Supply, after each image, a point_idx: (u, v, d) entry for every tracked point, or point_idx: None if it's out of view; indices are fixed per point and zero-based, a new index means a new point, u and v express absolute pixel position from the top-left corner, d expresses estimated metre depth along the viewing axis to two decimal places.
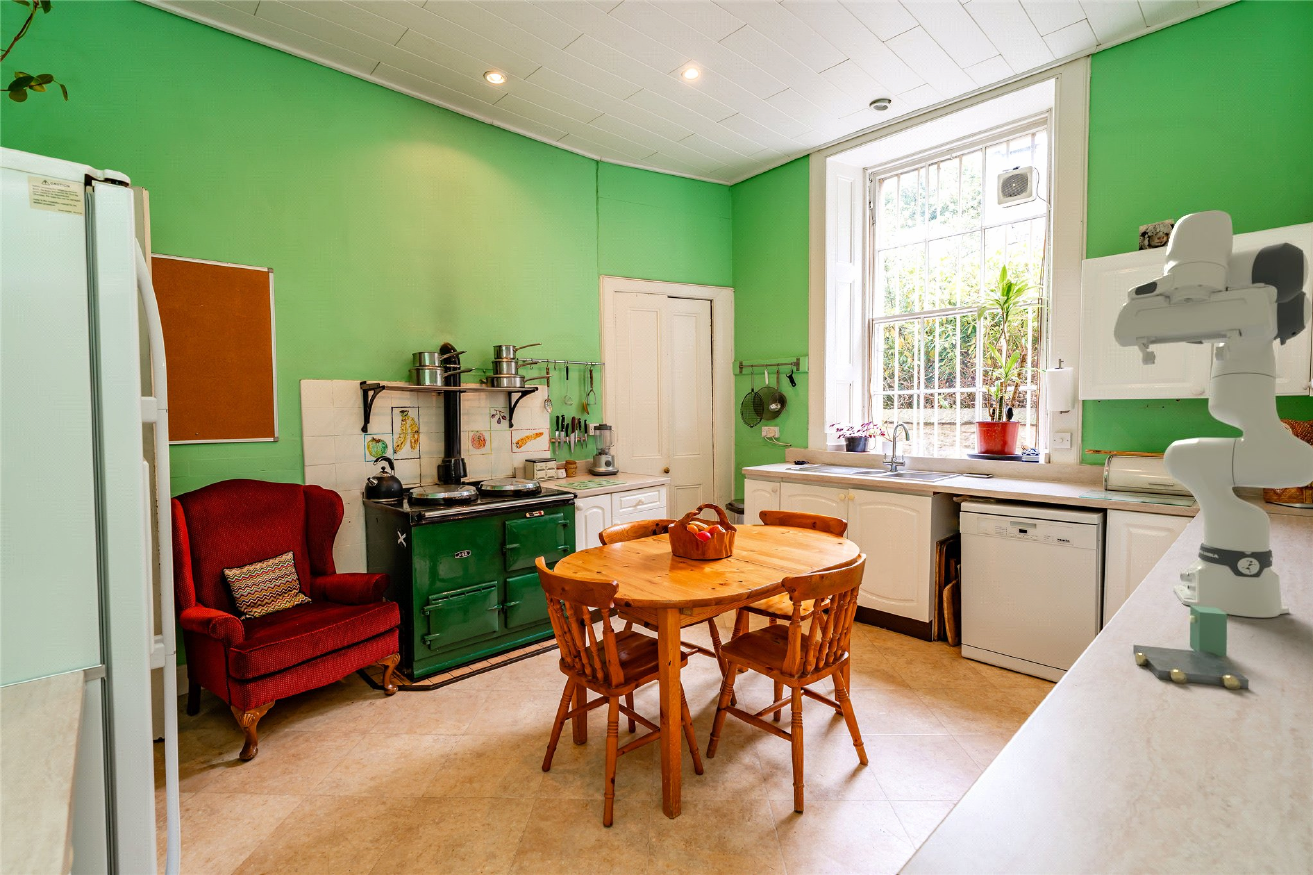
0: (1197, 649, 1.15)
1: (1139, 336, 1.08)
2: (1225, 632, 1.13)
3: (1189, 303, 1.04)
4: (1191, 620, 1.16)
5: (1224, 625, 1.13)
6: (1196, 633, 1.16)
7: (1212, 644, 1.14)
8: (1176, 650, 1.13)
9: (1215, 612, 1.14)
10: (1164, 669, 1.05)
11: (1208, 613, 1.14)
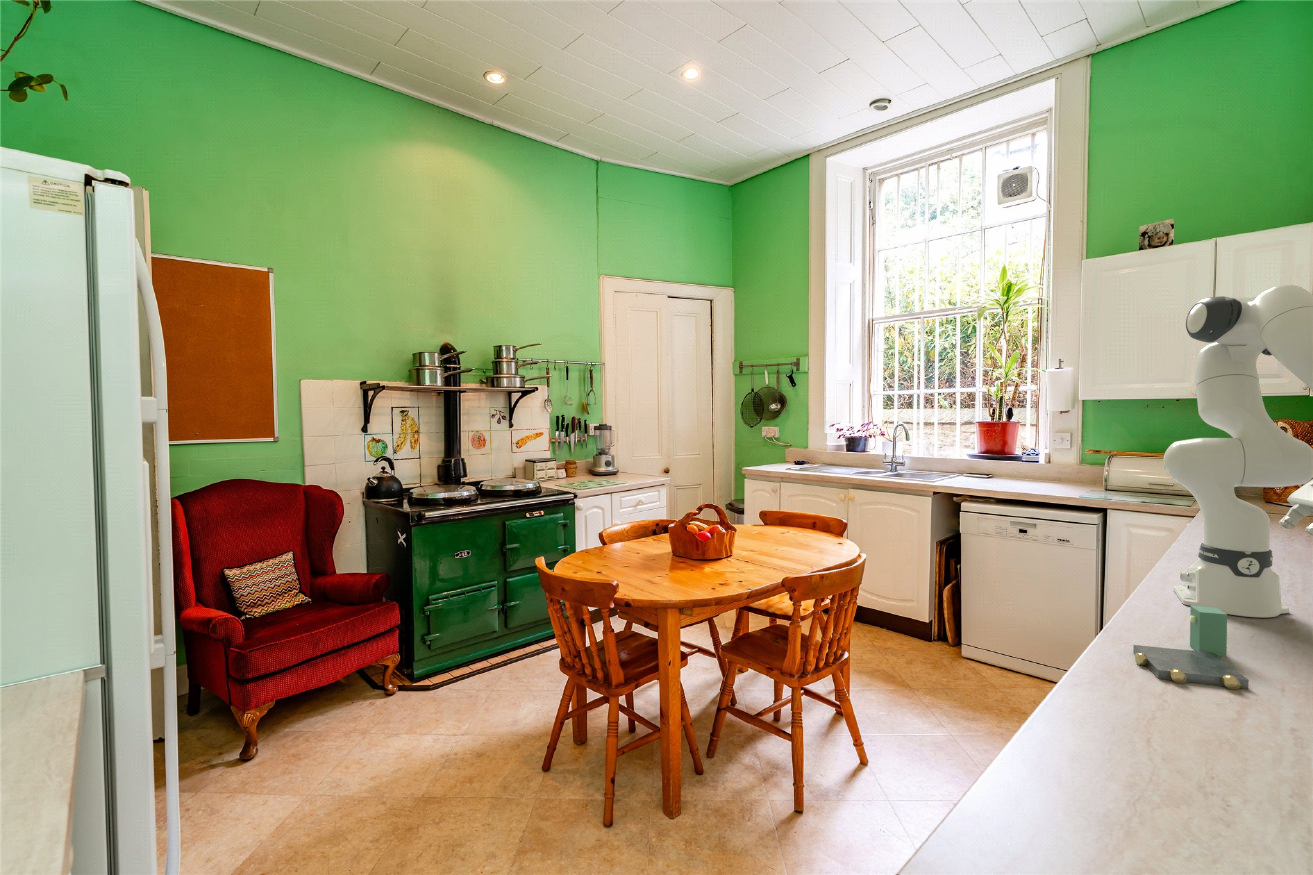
0: (1197, 649, 1.15)
1: None
2: (1225, 632, 1.13)
3: None
4: (1191, 620, 1.16)
5: (1224, 625, 1.13)
6: (1196, 633, 1.16)
7: (1212, 644, 1.14)
8: (1176, 650, 1.13)
9: (1215, 612, 1.14)
10: (1164, 669, 1.05)
11: (1208, 613, 1.14)
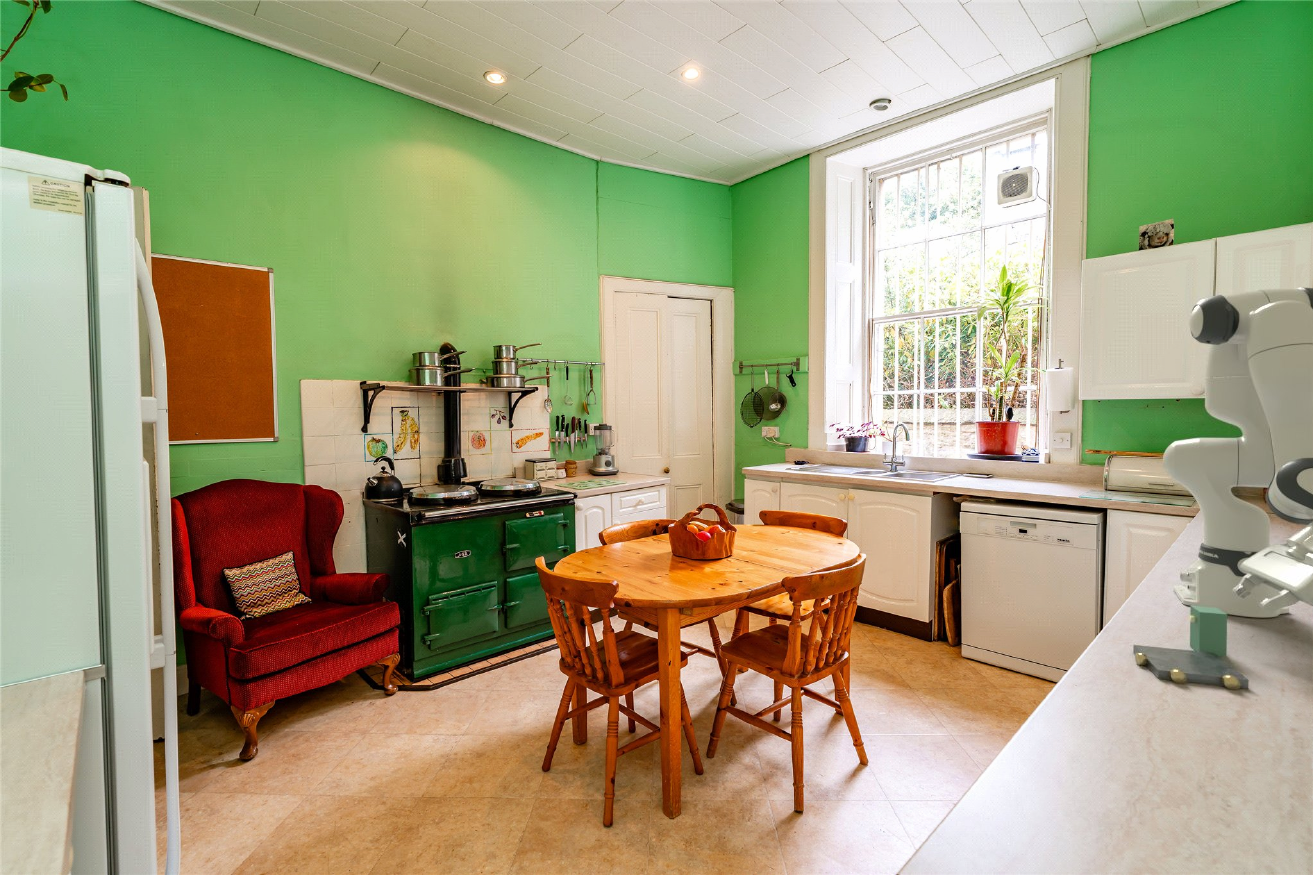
0: (1197, 649, 1.15)
1: (1301, 600, 1.06)
2: (1225, 632, 1.13)
3: None
4: (1191, 620, 1.16)
5: (1224, 625, 1.13)
6: (1196, 633, 1.16)
7: (1212, 644, 1.14)
8: (1176, 650, 1.13)
9: (1215, 612, 1.14)
10: (1164, 669, 1.05)
11: (1208, 613, 1.14)
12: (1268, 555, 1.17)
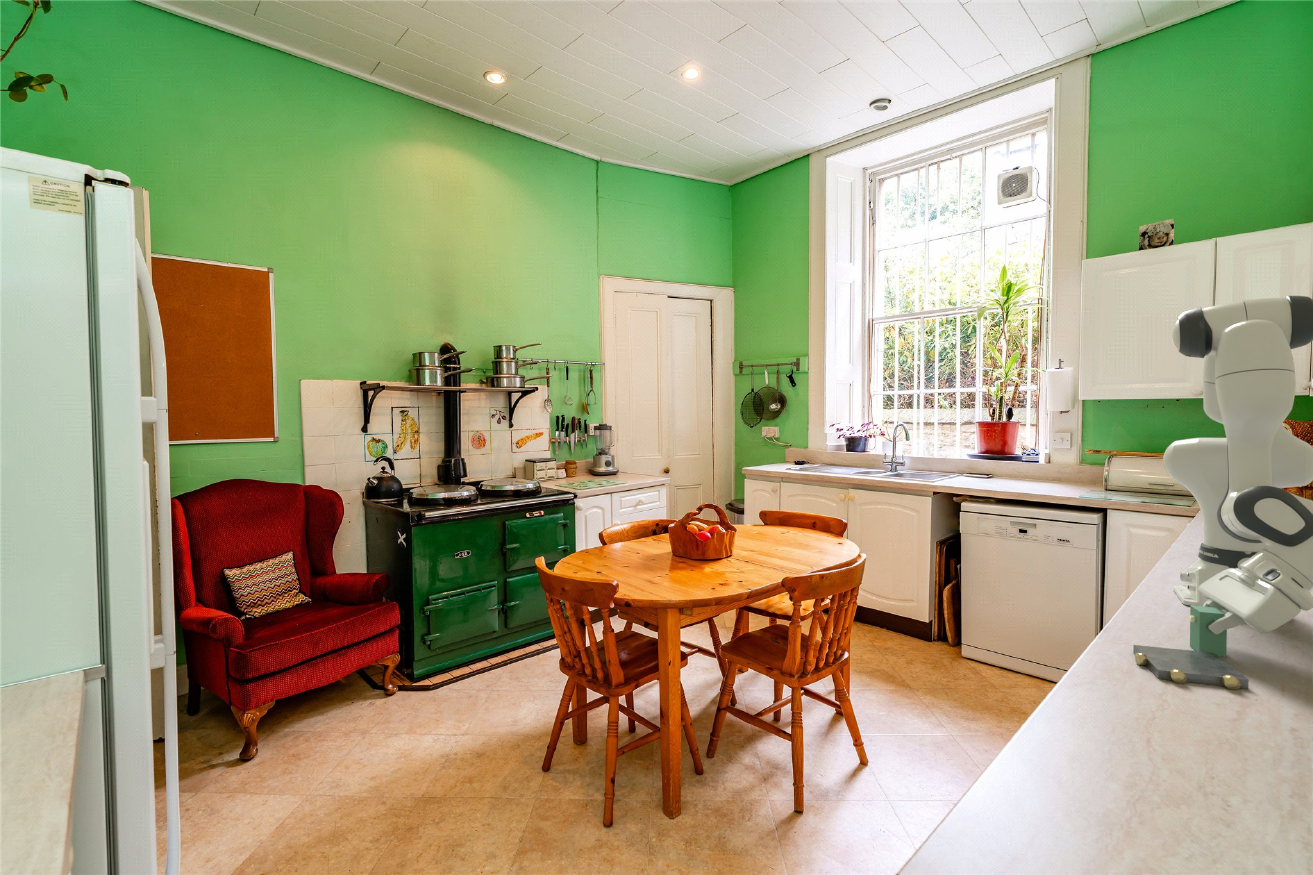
0: (1197, 649, 1.15)
1: (1250, 626, 1.08)
2: (1225, 632, 1.13)
3: None
4: (1191, 620, 1.16)
5: None
6: (1196, 633, 1.16)
7: (1212, 643, 1.14)
8: (1176, 650, 1.13)
9: (1215, 612, 1.14)
10: (1164, 669, 1.05)
11: (1208, 613, 1.14)
12: (1223, 579, 1.20)
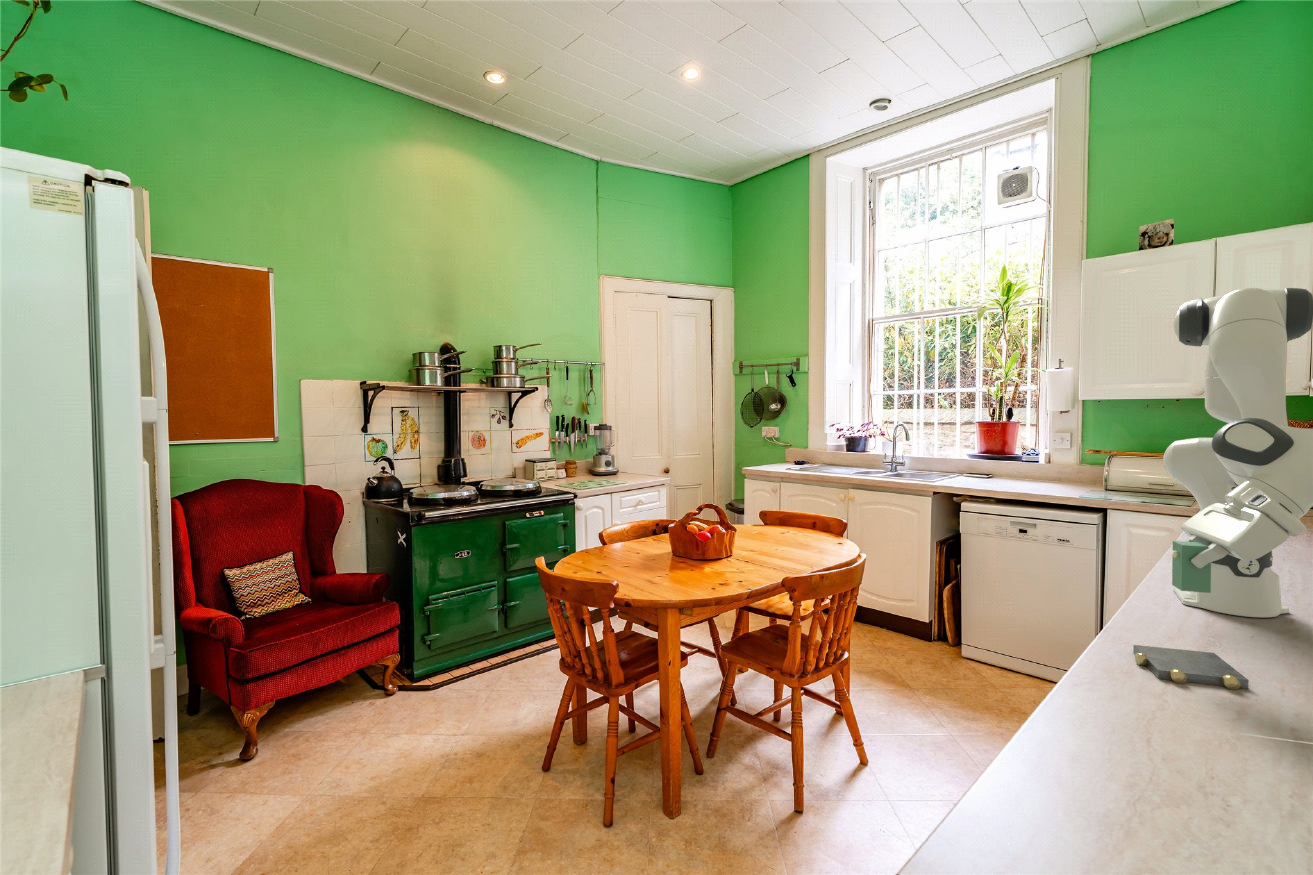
0: (1179, 586, 1.08)
1: (1235, 557, 1.01)
2: (1209, 566, 1.05)
3: None
4: (1173, 556, 1.09)
5: None
6: (1178, 569, 1.08)
7: (1195, 579, 1.06)
8: (1176, 650, 1.13)
9: (1198, 545, 1.06)
10: (1164, 669, 1.05)
11: (1191, 546, 1.06)
12: (1207, 514, 1.12)
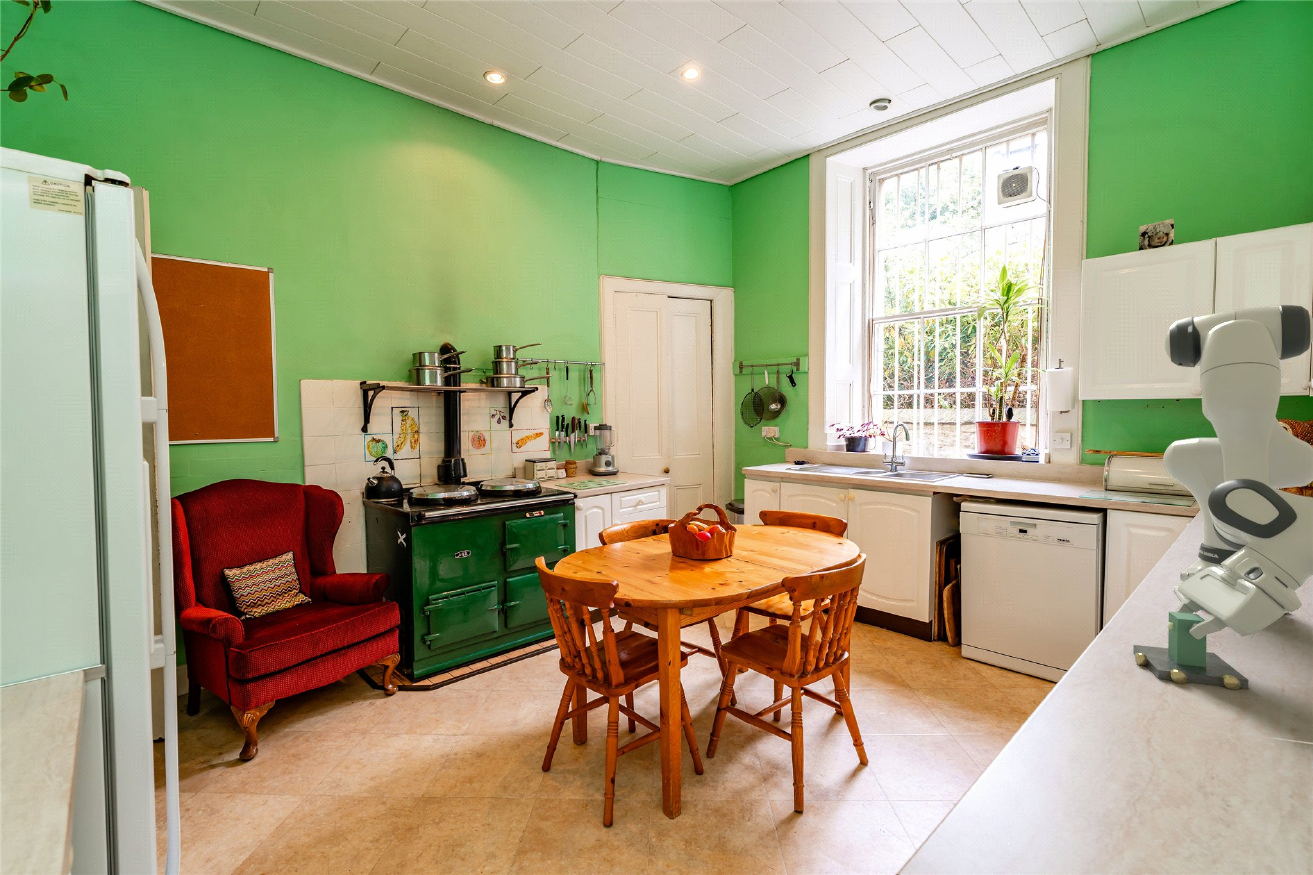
0: (1175, 658, 1.08)
1: (1231, 629, 1.01)
2: (1205, 640, 1.05)
3: None
4: (1169, 628, 1.09)
5: None
6: (1174, 641, 1.08)
7: (1191, 653, 1.06)
8: None
9: (1194, 618, 1.06)
10: (1164, 669, 1.05)
11: (1186, 620, 1.06)
12: (1204, 578, 1.12)
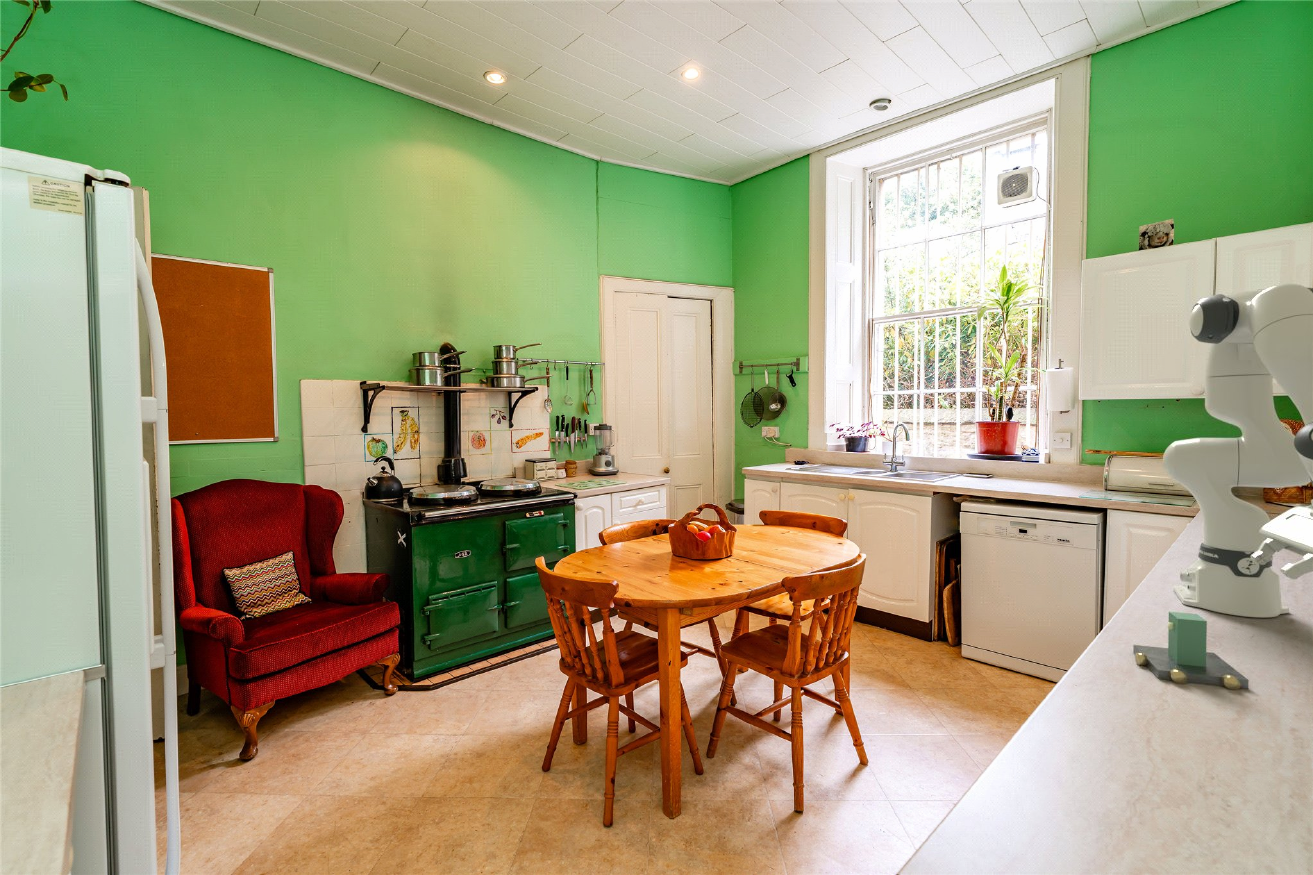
0: (1175, 658, 1.08)
1: None
2: (1205, 640, 1.05)
3: None
4: (1169, 628, 1.09)
5: (1203, 633, 1.05)
6: (1174, 641, 1.08)
7: (1191, 653, 1.06)
8: None
9: (1194, 618, 1.06)
10: (1164, 669, 1.05)
11: (1186, 620, 1.06)
12: (1289, 518, 1.08)
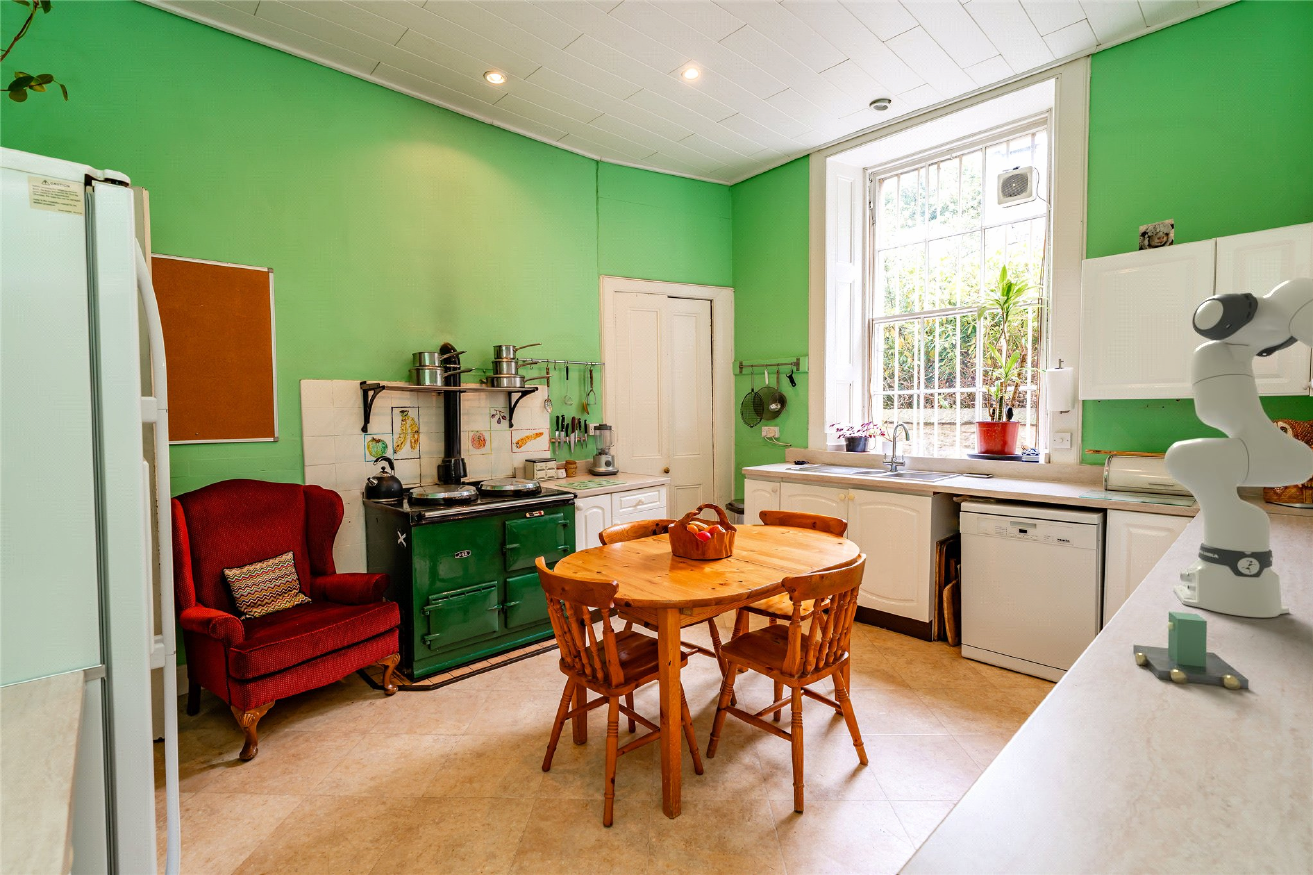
0: (1175, 658, 1.08)
1: None
2: (1205, 640, 1.05)
3: None
4: (1169, 628, 1.09)
5: (1203, 633, 1.05)
6: (1174, 641, 1.08)
7: (1191, 653, 1.06)
8: None
9: (1194, 618, 1.06)
10: (1164, 669, 1.05)
11: (1186, 620, 1.06)
12: None
